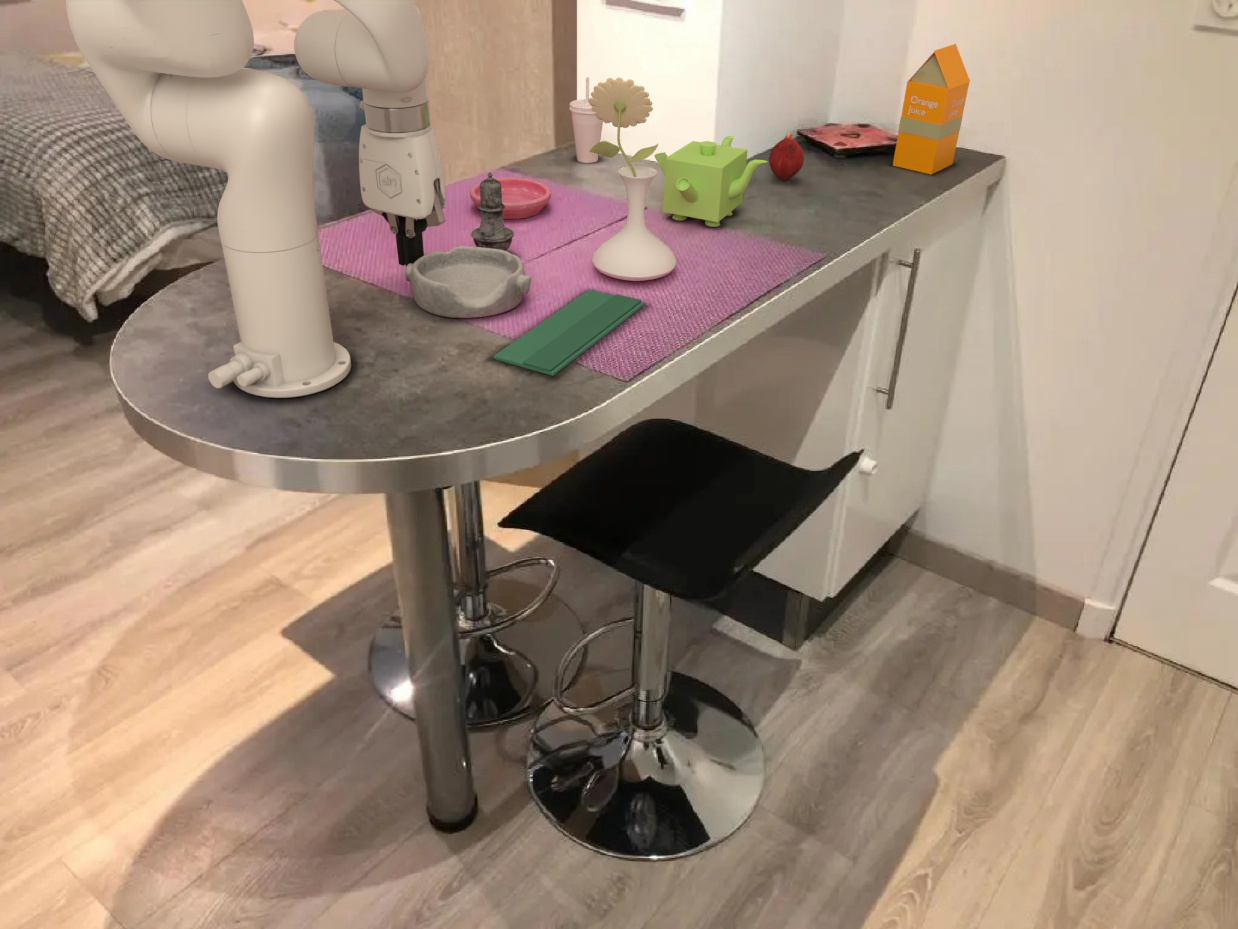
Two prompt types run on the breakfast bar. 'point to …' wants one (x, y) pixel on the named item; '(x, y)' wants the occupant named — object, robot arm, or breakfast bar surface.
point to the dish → (468, 282)
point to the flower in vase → (629, 188)
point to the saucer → (518, 197)
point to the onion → (786, 158)
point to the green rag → (569, 332)
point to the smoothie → (585, 128)
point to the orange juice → (932, 113)
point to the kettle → (705, 180)
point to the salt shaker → (492, 217)
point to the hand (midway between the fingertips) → (411, 262)
